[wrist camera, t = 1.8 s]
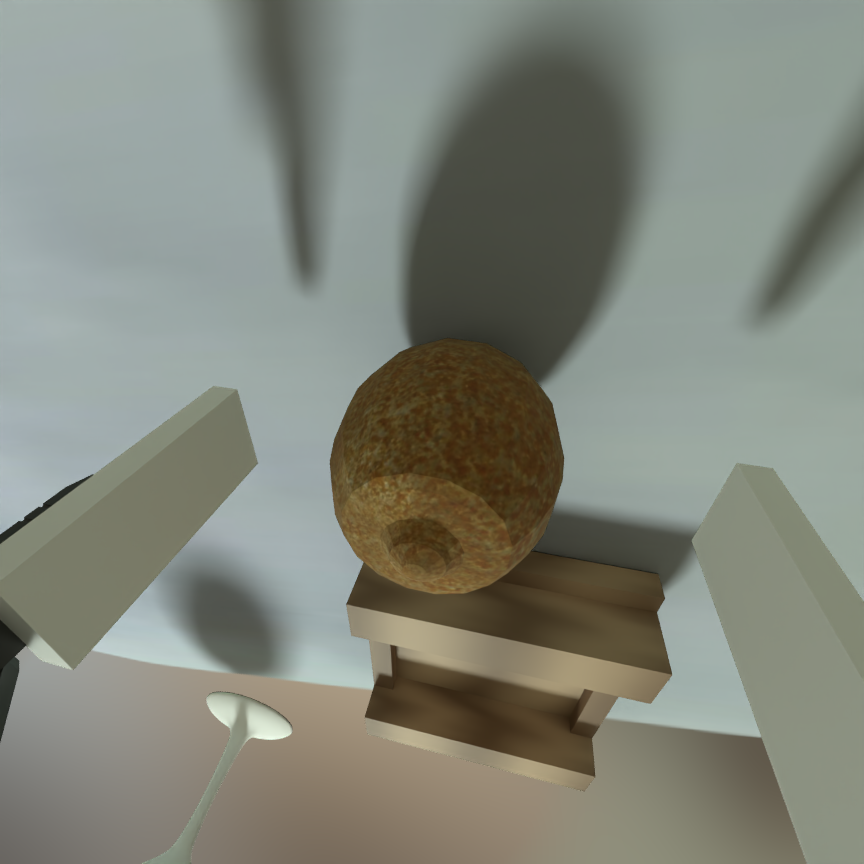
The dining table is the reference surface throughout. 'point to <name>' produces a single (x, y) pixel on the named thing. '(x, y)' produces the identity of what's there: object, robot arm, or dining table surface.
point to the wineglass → (227, 758)
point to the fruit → (446, 467)
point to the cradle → (512, 662)
